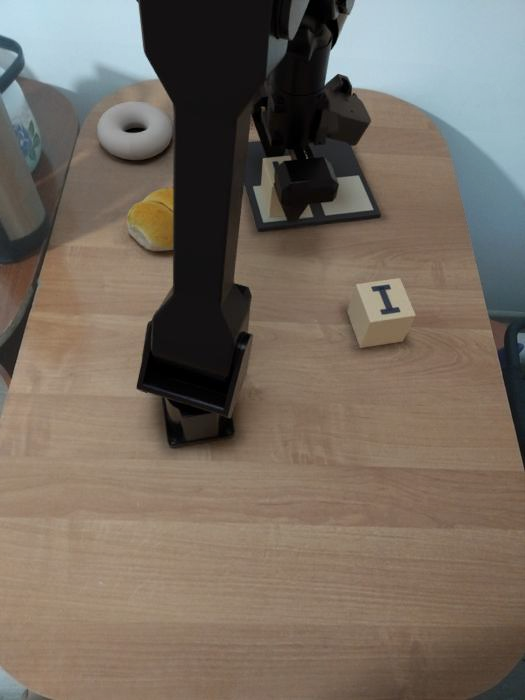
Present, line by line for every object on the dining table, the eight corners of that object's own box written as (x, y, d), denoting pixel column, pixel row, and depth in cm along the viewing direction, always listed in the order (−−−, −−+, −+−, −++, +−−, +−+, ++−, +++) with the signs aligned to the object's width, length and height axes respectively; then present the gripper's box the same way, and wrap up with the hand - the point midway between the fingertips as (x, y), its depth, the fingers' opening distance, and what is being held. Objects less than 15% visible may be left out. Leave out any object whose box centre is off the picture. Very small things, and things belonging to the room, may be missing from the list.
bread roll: (216, 225, 69) (216, 201, 66) (160, 263, 65) (157, 240, 62) (172, 190, 72) (169, 165, 68) (116, 225, 68) (110, 201, 65)
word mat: (380, 217, 72) (381, 213, 71) (258, 231, 69) (258, 227, 68) (344, 136, 80) (345, 132, 79) (234, 146, 77) (234, 142, 76)
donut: (164, 114, 80) (93, 122, 78) (163, 92, 77) (89, 100, 75) (180, 160, 75) (105, 170, 73) (179, 138, 72) (101, 148, 70)
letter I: (402, 341, 62) (416, 314, 57) (360, 348, 61) (370, 321, 57) (388, 305, 64) (400, 277, 60) (346, 311, 63) (356, 283, 59)
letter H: (307, 213, 70) (313, 181, 66) (269, 217, 69) (272, 185, 65) (298, 185, 73) (302, 153, 68) (260, 189, 72) (262, 157, 68)
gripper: (401, 131, 54) (366, 242, 67) (346, 24, 63) (325, 141, 76) (289, 141, 52) (276, 254, 65) (249, 30, 61) (245, 148, 74)
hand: (283, 195), depth 70 cm, fingers open, 9 cm apart
